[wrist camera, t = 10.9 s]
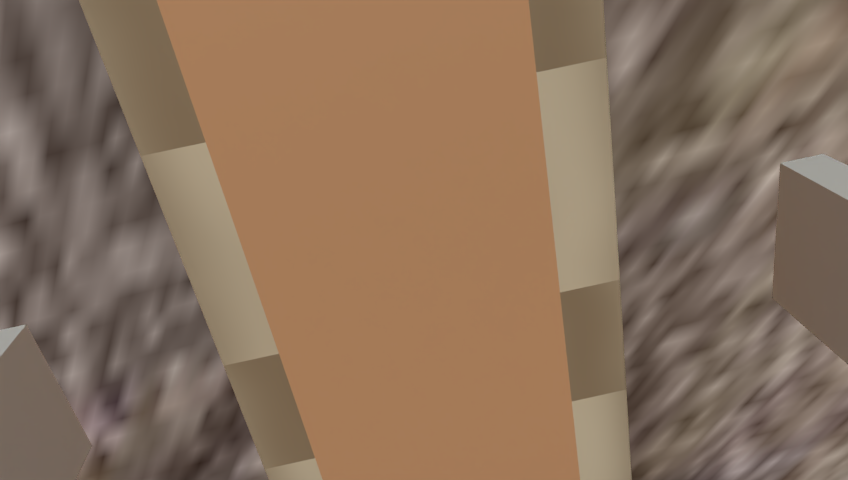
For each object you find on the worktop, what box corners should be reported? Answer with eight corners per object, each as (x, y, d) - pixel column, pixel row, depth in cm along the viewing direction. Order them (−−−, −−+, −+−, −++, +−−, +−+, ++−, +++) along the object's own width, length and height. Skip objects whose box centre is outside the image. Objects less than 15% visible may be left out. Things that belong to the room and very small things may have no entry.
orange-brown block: (260, -46, 16) (152, -12, 7) (421, -80, 16) (518, -88, 7) (368, 351, 21) (385, 662, 12) (489, 325, 21) (594, 615, 12)
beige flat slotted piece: (515, -369, 14) (575, -472, 10) (589, 422, 24) (633, 511, 20) (47, -275, 14) (-59, -347, 10) (315, 483, 23) (310, 583, 20)
